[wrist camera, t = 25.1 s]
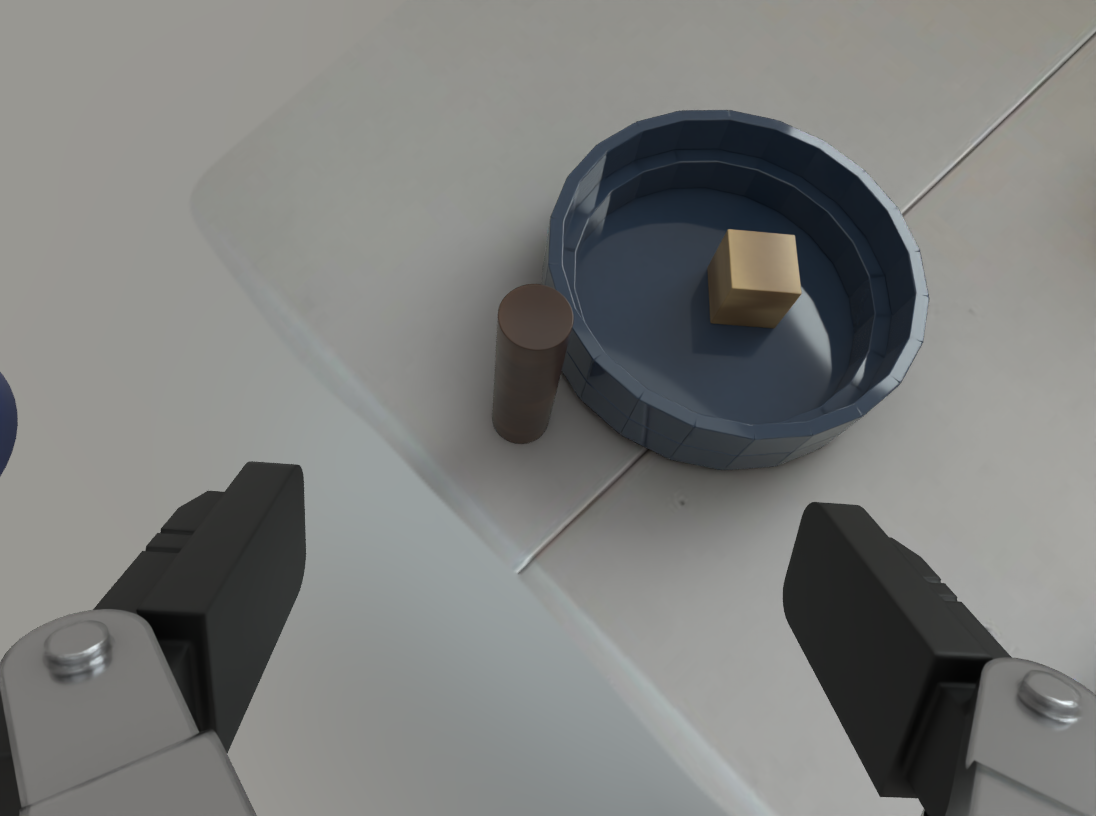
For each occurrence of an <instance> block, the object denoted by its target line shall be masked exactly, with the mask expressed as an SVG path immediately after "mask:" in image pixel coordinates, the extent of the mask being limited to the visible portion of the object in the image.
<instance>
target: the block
mask: <svg viewBox="0 0 1096 816" xmlns="http://www.w3.org/2000/svg"><path fill="white" fill-rule="evenodd" d="M707 269H708V287H709V305H710V322H711V323H713V324H726V325H738V326H750V327H763V328H775V327H776V326H777V325H778V323H779V322H780V321H781V320H782V318H783V317H784V316H785V314H786V313H787V312H788V311H789V309H790V308H791V307H792V306H793V304H794V303H795V302H796V300H797V299H798V298H799V297H800V295H801V284H800V276H799V267H798V258H797V249H796V241H795V235H789V234H778V233H767V232H756V231H744V230H733V229H728V230H727V232H726V234H725V235H724V237H723V239H722V241H721V243H720V245H719V247H718V249H717V251H716V253H715V254H714V256H713V258H712V260H711V262H710V264H709V266H708V268H707Z"/></svg>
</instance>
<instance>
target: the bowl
mask: <svg viewBox="0 0 1096 816" xmlns="http://www.w3.org/2000/svg"><path fill="white" fill-rule="evenodd" d="M728 229H733V230H744V231H756V232H767V233H778V234H789V235H795V241H796V249H797V258H798V267H799V276H800V284H801V295H800V297H799V298H798V299H797V300H796V302H795V303H794V304H793V306H792V307H791V308H790V309H789V311H788V312H787V313H786V314H785V316H784V317H783V318H782V320H781V321H780V322H779V323H778V325H777V326H776V327H775V328H763V327H750V326H738V325H726V324H713V323H711V322H710V305H709V287H708V269H707V268H708V266H709V264H710V262H711V260H712V258H713V256H714V254H715V253H716V251H717V249H718V247H719V245H720V243H721V241H722V239H723V237H724V235H725V234H726V232H727V230H728ZM542 285H545V286H548V287H551V288H553V289H555V290H557V291H558V292H560V293H561V294H562V295H563V296H564V297H565V298H566V299H567V301H568V302H569V304H570V306H571V308H572V311H573V315H574V322H573V327H572V331H571V335H570V339H569V343H568V347H567V351H566V355H565V359H564V363H563V367H562V372H563V373H564V375H565V376H566V378H567V379H568V381H569V382H570V384H571V386H572V387H573V389H574V390H575V392H576V393H577V395H578V397H579V398H581V400H582V401H583V402H584V403H585V404H587V405H588V406H589V407H590V408H591V409H592V410H593V411H594V412H596V413H597V414H598V415H599V416H600V417H601V418H602V419H603V420H605V421H606V422H607V423H608V424H609V425H610V426H611V427H612V428H613V429H615V430H616V431H617V432H618V433H619V434H620V433H621V435H622V436H624V437H626V438H628V439H630V440H632V441H634V442H636V443H638V444H640V445H642V446H644V447H646V448H648V449H650V450H652V451H654V452H656V453H658V454H660V455H662V456H664V457H666V458H668V459H669V458H670V460H675V461H679V462H684V463H689V464H694V465H699V466H704V467H709V468H713V469H718V470H734V469H747V468H761V467H774V466H778V465H780V464H783V463H785V462H788V461H790V460H793V459H795V458H798V457H800V456H803V455H806V454H808V453H811V452H813V451H816V450H818V449H820V448H822V447H823V446H824V445H826V444H827V443H828V442H830V441H831V440H832V439H834V438H835V437H836V436H838V435H839V434H840V433H842V432H843V431H844V430H846V429H847V428H848V427H850V426H851V425H852V424H854V423H855V422H856V421H858V420H859V419H860V418H862V417H863V416H864V415H865V414H867V413H868V412H869V411H870V410H871V409H872V408H873V407H875V406H876V405H877V404H878V403H879V402H880V401H882V400H883V399H884V398H885V397H886V396H887V395H889V394H890V393H891V392H892V391H893V390H894V389H896V388H897V387H898V386H899V385H900V384H901V382H902V380H903V379H904V377H905V375H906V373H907V371H908V369H909V368H910V366H911V364H912V362H913V360H914V358H915V357H916V355H917V353H918V351H919V349H920V347H921V345H922V343H923V340H924V332H925V325H926V318H927V311H928V303H929V294H928V289H927V284H926V279H925V274H924V268H923V263H922V258H921V253H920V249H919V247H918V245H917V243H916V241H915V239H914V237H913V235H912V233H911V232H910V230H909V228H908V226H907V224H906V222H905V220H904V218H903V216H902V214H901V212H900V210H899V208H897V206H896V205H895V204H894V203H893V202H892V200H891V199H890V198H889V197H888V196H887V195H886V194H885V192H884V191H883V190H882V189H881V188H880V187H879V186H878V184H877V183H876V182H875V181H874V180H873V179H872V178H871V177H870V175H869V174H868V173H867V172H866V171H865V170H864V169H863V168H861V167H860V166H859V165H857V164H856V163H854V162H853V161H852V160H850V159H849V158H847V157H846V156H845V155H843V154H842V153H841V152H839V151H838V150H836V149H835V148H834V147H832V146H831V145H830V144H828V143H827V142H825V141H824V140H822V139H819V138H817V137H815V136H813V135H810V134H808V133H806V132H804V131H801V130H799V129H797V128H795V127H792V126H790V125H788V124H786V123H783V122H781V121H779V120H775V119H770V118H765V117H761V116H756V115H751V114H746V113H742V112H737V111H732V110H682V111H676V112H672V113H668V114H664V115H661V116H657V117H653V118H649V119H645V120H641V121H637V122H636V123H633V124H631V125H630V126H628V127H626V128H625V129H623V130H621V131H619V132H618V133H616V134H614V135H612V136H611V137H609V138H607V139H605V140H604V141H602V142H600V143H599V144H598V145H596V146H595V147H594V148H593V149H592V150H591V151H590V152H589V154H588V155H587V156H586V157H585V158H584V159H583V160H582V161H581V162H580V163H579V165H578V166H577V167H576V168H575V169H574V170H573V171H572V172H571V173H570V175H569V176H568V177H567V179H566V181H565V183H564V186H563V188H562V191H561V193H560V195H559V198H558V200H557V203H556V205H555V207H554V210H553V212H552V215H551V217H550V223H549V229H548V236H547V243H546V249H545V256H544V262H543V269H542Z"/></svg>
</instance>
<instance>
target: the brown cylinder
mask: <svg viewBox="0 0 1096 816" xmlns="http://www.w3.org/2000/svg"><path fill="white" fill-rule="evenodd" d="M573 322H574V315H573V311H572V308H571V306H570V304H569V302H568V301H567V299H566V298H565V297H564V296H563V295H562V294H561V293H560V292H558V291H557V290H555V289H553V288H551V287H548V286H545V285H540V284H528V285H523V286H520V287H518V288H515V289H514V290H512V291H511V292H509V293H508V294H507V295H506V296H505V297H504V299H503V300H502V302H501V304H500V306H499V309H498V319H497V337H496V355H495V374H494V392H493V410H492V421H493V425H494V427H495V429H496V431H497V432H498V433H499V435H500V436H501V437H503V438H504V439H506V440H507V441H510V442H513V443H518V444H524V443H530V442H532V441H535V440H536V439H538V438H539V437H540V436H541V435H542V434H543V433H544V432H545V430H546V428H547V426H548V422H549V418H550V414H551V410H552V406H553V402H554V399H555V395H556V391H557V387H558V383H559V379H560V375H561V371H562V367H563V363H564V359H565V355H566V351H567V347H568V343H569V339H570V335H571V331H572V327H573Z"/></svg>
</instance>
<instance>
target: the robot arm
mask: <svg viewBox="0 0 1096 816" xmlns="http://www.w3.org/2000/svg"><path fill="white" fill-rule="evenodd" d="M305 541H306V539H305V509H304V480H303V472H302V469H301V467H300V465H294V464H280V463H265V462H248V463H246V464H245V466H244V467H243V468H242V470H241V471H240V472H239V474H238V475H237V476H236V478H235V479H234V480H233V482H232V483H231V484H230V486H229V487H228V488H227V489H226V491H225V492H218V491H207V492H205V493H204V494H202V495H200V496H198V497H197V498H195V499H193V500H191V501H190V502H188V503H186V504H184V505H183V506H181V507H179V508H178V509H177V510H176V512H175V513H174V514H173V515H172V516H171V518H170V519H169V520H168V521H167V522H166V523H165V525H164V526H163V527H162V528H161V532H160V533H157V534H156V536H155V537H154V538H153V539H152V540H151V541H150V543H149V544H148V545H147V546H146V551H142V552H141V553H140V555H139V556H138V557H137V558H136V559H135V560H134V562H133V563H132V564H131V565H130V566H129V568H128V569H127V570H126V571H125V572H124V574H123V575H122V576H121V577H120V578H119V579H118V581H117V582H116V583H115V584H114V586H113V587H112V588H111V589H110V590H109V591H108V593H107V594H106V595H105V596H104V597H103V598H102V600H101V601H100V602H99V603H98V604H97V606H96V607H95V608H94V609H93V610H89V611H84V612H79V613H74V614H70V615H67V616H64V617H61V618H58V619H55V620H53V621H50V622H48V623H46V624H44V625H42V626H40V627H38V628H36V629H34V630H32V631H31V632H29V633H28V634H27V635H25V636H24V637H22V638H21V639H20V640H19V641H17V642H16V643H15V644H14V645H13V646H12V647H11V648H10V649H9V650H8V651H7V652H6V654H5V655H4V657H3V659H2V660H1V662H0V816H257V815H256V813H255V811H254V809H253V807H252V805H251V803H250V801H249V799H248V797H247V795H246V792H245V790H244V788H243V786H242V784H241V782H240V780H239V778H238V776H237V774H236V772H235V770H234V767H233V766H232V763H231V762H230V759H229V757H228V755H227V753H228V751H229V748H230V746H231V744H232V741H233V739H234V737H235V735H236V733H237V730H238V728H239V726H240V723H241V721H242V719H243V717H244V714H245V712H246V710H247V708H248V706H249V703H250V701H251V699H252V697H253V694H254V692H255V690H256V687H257V685H258V683H259V681H260V679H261V677H262V674H263V672H264V670H265V668H266V665H267V663H268V661H269V659H270V656H271V654H272V652H273V650H274V647H275V645H276V643H277V641H278V638H279V636H280V634H281V632H282V629H283V627H284V625H285V623H286V620H287V618H288V616H289V614H290V611H291V609H292V607H293V604H294V602H295V600H296V598H297V596H298V593H299V591H300V588H301V584H302V580H303V575H304V569H305V560H306V542H305ZM783 606H784V612H785V616H786V619H787V621H788V624H789V625H790V627H791V629H792V631H793V633H794V635H795V637H796V639H797V641H798V643H799V644H800V646H801V648H802V650H803V652H804V654H805V656H806V658H807V660H808V661H809V663H810V665H811V667H812V669H813V671H814V673H815V675H816V677H817V678H818V680H819V682H820V684H821V686H822V688H823V690H824V692H825V694H826V695H827V697H828V699H829V701H830V703H831V705H832V707H833V709H834V711H835V712H836V714H837V716H838V718H839V720H840V722H841V724H842V726H843V728H844V729H845V731H846V733H847V735H848V737H849V739H850V741H851V743H852V745H853V746H854V748H855V750H856V752H857V754H858V756H859V758H860V760H861V762H862V764H863V765H864V767H865V769H866V771H867V773H868V775H869V777H870V779H871V781H872V782H873V784H874V786H875V788H876V790H877V792H878V794H879V796H880V797H901V798H918V799H919V801H920V803H921V804H922V806H923V808H924V809H923V811H922V814H921V816H1096V695H1095V694H1094V693H1093V692H1091V691H1090V690H1089V689H1087V688H1086V687H1085V686H1083V685H1082V684H1080V683H1079V682H1077V681H1075V680H1074V679H1072V678H1070V677H1069V676H1067V675H1065V674H1063V673H1061V672H1059V671H1057V670H1055V669H1052V668H1050V667H1048V666H1045V665H1042V664H1039V663H1036V662H1033V661H1029V660H1025V659H1019V658H1012V657H1011V656H1010V655H1009V654H1008V653H1007V652H1006V651H1005V650H1004V649H1003V647H1002V646H1001V645H1000V644H999V643H998V642H997V641H996V640H995V639H994V637H993V636H992V635H991V634H990V633H989V632H988V631H987V630H986V629H985V628H984V626H983V625H982V624H981V623H980V622H979V621H978V620H977V619H976V618H975V616H974V615H973V614H972V613H971V612H970V611H969V610H968V609H967V608H966V606H965V605H964V604H963V603H962V602H957V596H956V595H955V594H954V593H953V592H952V591H951V590H950V589H949V588H948V586H947V585H946V584H945V583H941V579H940V578H939V576H938V575H937V574H936V573H935V572H934V571H933V570H932V569H931V568H930V566H929V565H928V564H927V563H926V562H925V561H924V560H923V559H922V558H921V557H920V556H919V555H917V554H916V553H914V552H913V551H911V550H910V549H908V548H907V547H905V546H904V545H902V544H901V543H899V542H898V541H896V540H895V539H893V538H889V537H888V536H887V535H886V534H885V532H884V531H883V530H882V529H881V528H880V527H879V526H878V524H877V523H876V522H875V521H874V520H873V519H872V517H871V516H870V515H869V514H868V513H867V512H866V511H865V509H864V508H862V507H861V506H859V505H848V504H834V503H820V502H812V503H810V504H809V505H808V506H807V507H806V509H805V510H804V513H803V515H802V519H801V522H800V526H799V530H798V533H797V537H796V541H795V544H794V548H793V552H792V555H791V559H790V563H789V566H788V570H787V574H786V577H785V581H784V587H783Z"/></svg>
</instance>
